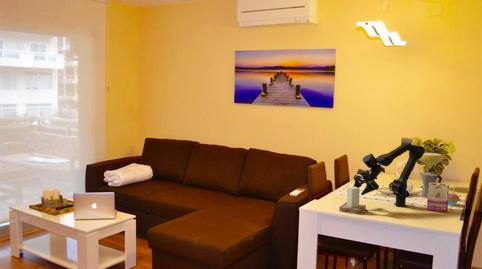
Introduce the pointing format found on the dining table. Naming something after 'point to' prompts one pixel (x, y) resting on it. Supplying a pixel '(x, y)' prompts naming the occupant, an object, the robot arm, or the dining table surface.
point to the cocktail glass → (431, 159)
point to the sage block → (353, 196)
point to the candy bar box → (437, 197)
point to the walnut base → (352, 209)
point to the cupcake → (452, 198)
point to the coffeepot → (428, 178)
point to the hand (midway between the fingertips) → (356, 192)
